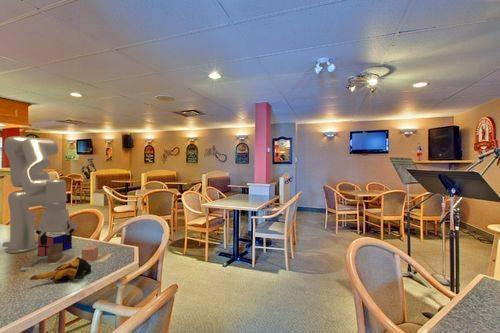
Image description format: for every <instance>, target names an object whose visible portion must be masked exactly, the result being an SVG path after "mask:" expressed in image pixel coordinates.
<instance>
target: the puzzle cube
mask: <svg viewBox="0 0 500 333" xmlns="http://www.w3.org/2000/svg"><path fill="white" fill-rule="evenodd" d="M46 235H47V244H45V245H41V243H40V237H39V235H38V237H37V238H38V239H37V244H38V247H37V256H38V257H46V256H48V247H50V246H52V245H53V244H55V243H63V252H64V251H67V250H70V249H71V250H72V249H73V242H72V241H73V233H72V234H71V241H70V243H68V244H65V236H66V235H67V234H66V233H65V232H64V231H63V232H50V233H46Z"/></svg>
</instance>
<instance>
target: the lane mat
mask: <svg viewBox="0 0 500 333" xmlns="http://www.w3.org/2000/svg"><path fill="white" fill-rule="evenodd" d="M46 259H48V256H39V258H38V260H36V261H34V262H32V263H31V264H30V265H28V266H26V267H21V268H20V270H19V271H20V272H27V271H28V270H30V269H31V268H33V267H34V266H36V265H38V264H40V263H41V262H43V261H44V260H46Z"/></svg>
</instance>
